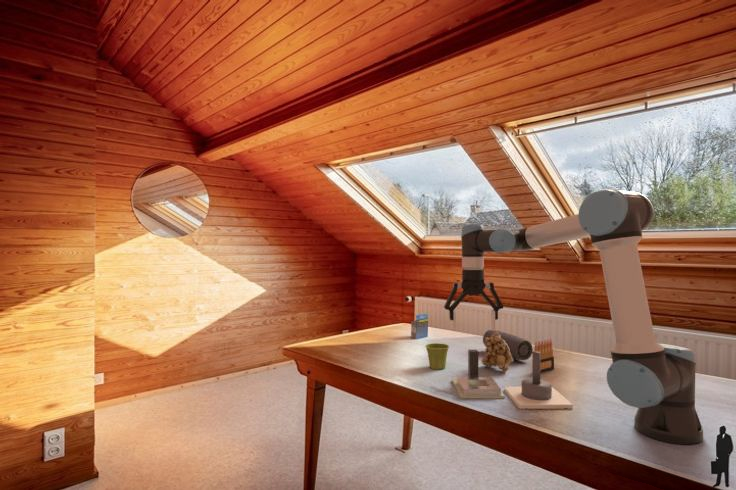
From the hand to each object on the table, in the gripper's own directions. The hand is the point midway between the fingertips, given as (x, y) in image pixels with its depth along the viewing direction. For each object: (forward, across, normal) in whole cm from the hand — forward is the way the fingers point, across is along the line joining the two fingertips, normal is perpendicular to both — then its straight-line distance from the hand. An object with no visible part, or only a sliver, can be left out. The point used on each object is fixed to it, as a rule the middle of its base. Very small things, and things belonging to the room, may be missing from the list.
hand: (473, 329), depth 157 cm
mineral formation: (+20, -13, -17) cm, 29 cm away
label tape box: (+19, +12, -72) cm, 75 cm away
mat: (+20, 0, +5) cm, 20 cm away
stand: (+20, -17, +14) cm, 29 cm away
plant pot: (+19, +10, -20) cm, 30 cm away
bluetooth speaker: (+20, -22, -36) cm, 46 cm away
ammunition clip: (+20, -30, -15) cm, 39 cm away
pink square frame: (+19, 0, +5) cm, 19 cm away
